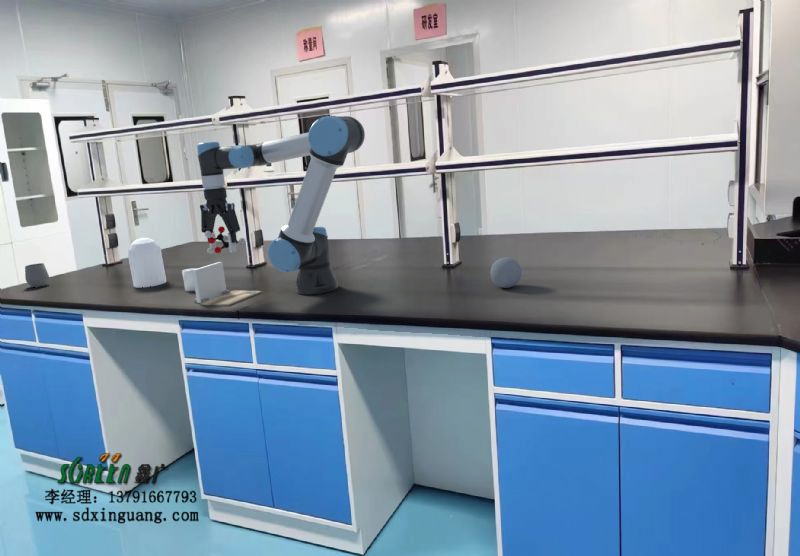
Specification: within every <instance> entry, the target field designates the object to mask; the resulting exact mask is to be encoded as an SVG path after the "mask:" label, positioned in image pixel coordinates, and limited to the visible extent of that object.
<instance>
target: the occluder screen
mask: <svg viewBox="0 0 800 556" xmlns="http://www.w3.org/2000/svg"><path fill="white" fill-rule="evenodd" d="M197 268H198V269H194V270H192V274H193V280H194V286H195V291H194V292H195V298H194V299H193V302H194V303H197V304H200V303H202V302H204V301H207V300H210V299H212V298H215V297H218V296H220V295H223V294H226V293H228V292H231V291H230V290H228V289H227V285H226V284H227V283H226V278H225V270H224V265H223V261H217V262H214V263H211V264H208V265H205V266H202V267H197Z"/></svg>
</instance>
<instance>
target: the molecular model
mask: <svg viewBox="0 0 800 556" xmlns="http://www.w3.org/2000/svg"><path fill="white" fill-rule="evenodd" d="M217 230H218V232H219V234H217V236H216V238H213V237H211V236H212V234H213V233H211V232H210V231H206V232H205V233H204V236H205V237H206V238H207V237H208V238H209V239H207V242H209V243H211V244H213V243H214V242H215V240H216V241H217V240H218V241H220V242H222V246H221V247H219V246H217V247H216V248H215V249H213V248H210V247H208V248H207V249H206V252H207V253H208V255H212V254H213V253H216V254H221V252H222V250H223V249H228V251H229V252H230V247H229V240H228V234H224V235H223V233H224V232H225V231H226V229H225V226H219V227H218V228H217ZM209 243H208V244H209ZM245 243H246V239H245V238H243V237H240V238H239V239H238V240H237V242H236V244H240V245H244V244H245ZM214 251H215V252H214Z"/></svg>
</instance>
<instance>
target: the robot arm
mask: <svg viewBox="0 0 800 556" xmlns="http://www.w3.org/2000/svg"><path fill="white" fill-rule="evenodd" d="M365 137H366V133H365V129H364V127H363V125H362V123H361V122H360V121H359V120H358V119H356V118H355V117H352V116H348V115H347V116H346V115H344V116H342V115H341V116H339V115H337V116H336V115H326V116H322V117H320V118H318V119H316V120H314V122H313V123H312V125H311V127H310V128H309V130H308V132H305V133H304V132H303V133H299V134H295V135H291V136H287V137H283V138H278V139H273V140H269V141H265V142H258V143H253V144H246V145H244V144H239V145H238V144H237V145H230V146H220V143H219V142H218V141H210V142H209V141H208V142H199V143H198V144H197V146H196V147H197V149H196V150H197V159H198V163H199V168H200V175H201V176H200V177H201V184H202V188H204V189H203V196H204V200H205V201H206V203H204V204H200V205H199V208H200V214H201V215H200V218H201V219H200V222H201V223H200V224H201V225H200V226H201V229H200V230H201V233H203V234H205V232H206V231H210V232H211V233H212V236H211V237H213V238H217V236H216V233H215V231H214V229H215V228H214V227H215V224H216V218H217V216H218V215H219V217H220V218H221V219H222V221H223V222H224V225H225V227H226V229H227V231H228V233H227V236H228V240H229V241H228V243H229V247H230V251H229V253H231V254H233V253H236V252H237V251H238V249H237V243H236V242H237V241H238V240H237V239H238V238H237V233H238V232H240V231H241V228H240V224H239V219H238V217H237V213H236V210H235V209H236V208H235V207H236V205H235V203H234V202H231V203H230V202H228V201H227V198H228V196H227V195H228V194H227V188H226V187H224V186H225V185H226V183H225V182H226V181H225V176H224V175H225V174H224V170H236V169H239V170H241V169H245V168H251V167H264V166H266V165H269V164H272V163H278V162H283V161H284V162H285V161H289V160H293V159H298V158H302V157H308V156H310V161H309V164H308V167H307V169H306V173H305V175H304V178H303V180H302V184H301V185H300V189H299V192H298V195H297V197H296V199H295V200H296V201H295V203H294V205H293V208H292V210H291V211H292V212H291V214H290V217H289V220H288V223H287V224H284V225H282V226H281V229H280V231H279V235H278V237H277V238H275V239H273V240H272V241H271V243H270V244H269V245H268V249H267V255H268V259H269V260H270V263H271V264H272V266H273V267H274V268H275V269H276V270H277V271H280V272H282V273H290V272H291V273H292V272H295V271H298V272H297V276H296V277H297V278H296V282H295V293H297V294H298V295H303V296H305V295H320V294H325V293H329V292H332V291H333V292H334V291H335V290H337V289H338V288H339V284H338V280H337V278H336V276H335V275H336V274H335V273H334V272H333V269H332V266H331V259H330V249H329V240H328V238H329V237H328V233H327V230H326V227H324V226H316V225H317V222H318V220H319V217H320V213H321V211H322V209H323V206H324V204H325V201H326V198H327V195H328V193H329V189H330V188H331V185H332V182H333V180H334V177H335V174H336V173H337V169H339V168H341V167H343V166H344V163H345V162H346V159H347V157H348V156H347V155H348V154H350V153H354V152H356V151H357V150H359V149H360V148H361V147H362V145H363V143H364V142H365V139H366V138H365ZM206 239H207V240H208V239H209V238H208V237H206ZM207 242H208V241H207ZM208 244H209V248H213V249H215V248H216V247H218V246H217V245H218V244H217V240H215V242H214V243H213V244H211V243H209V242H208ZM213 253H216V252H215V251H214V252H213Z"/></svg>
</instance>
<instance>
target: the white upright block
mask: <svg viewBox="0 0 800 556" xmlns="http://www.w3.org/2000/svg"><path fill="white" fill-rule="evenodd" d="M198 268H199V267H191V268H186V269H182V270H181V273H182V279H183V283H184V284H183V286H184V290H185V292H195V286H194V280H193V274H192V270H194V269H198Z"/></svg>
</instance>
